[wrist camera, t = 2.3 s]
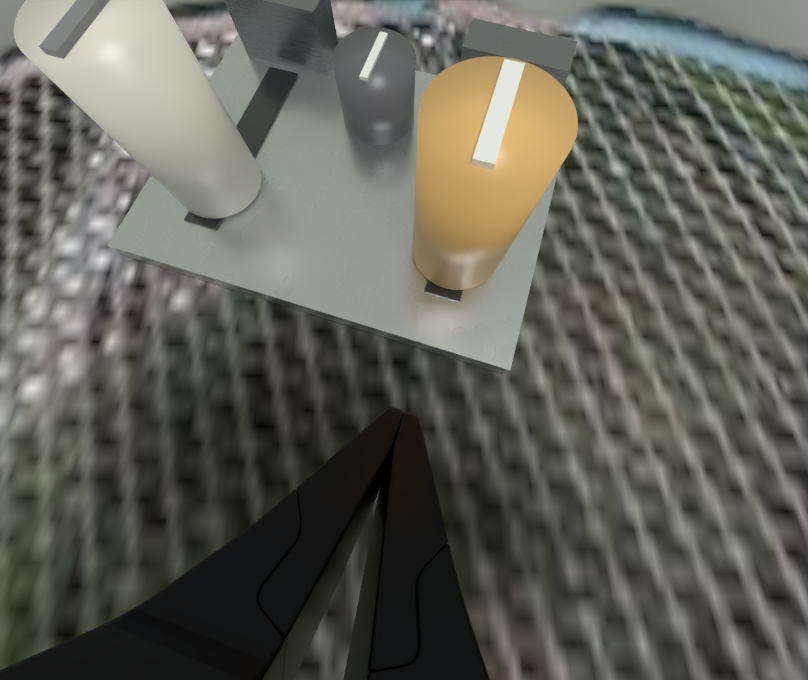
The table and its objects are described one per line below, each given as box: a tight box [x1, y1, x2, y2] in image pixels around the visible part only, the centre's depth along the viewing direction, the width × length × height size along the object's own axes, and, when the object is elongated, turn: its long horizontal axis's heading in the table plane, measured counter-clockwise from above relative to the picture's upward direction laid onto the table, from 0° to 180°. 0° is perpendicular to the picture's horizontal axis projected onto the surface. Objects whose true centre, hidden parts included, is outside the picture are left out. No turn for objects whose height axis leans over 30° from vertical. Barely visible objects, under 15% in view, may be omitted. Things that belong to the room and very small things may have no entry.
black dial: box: [332, 28, 416, 145], centre depth 16 cm, size 4×4×3 cm
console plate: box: [108, 0, 577, 374], centre depth 16 cm, size 16×21×4 cm
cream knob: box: [14, 0, 262, 219], centre depth 13 cm, size 4×4×7 cm
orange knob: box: [412, 56, 578, 290], centre depth 12 cm, size 4×4×7 cm
